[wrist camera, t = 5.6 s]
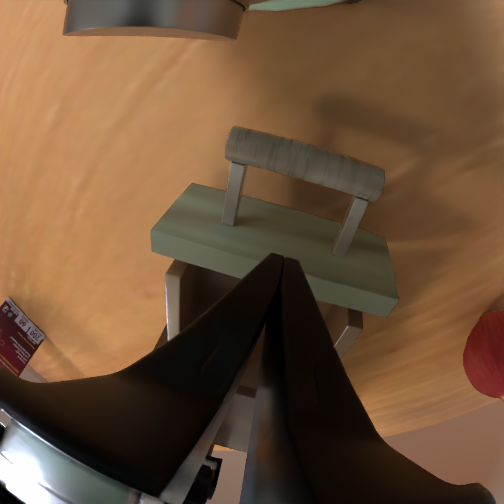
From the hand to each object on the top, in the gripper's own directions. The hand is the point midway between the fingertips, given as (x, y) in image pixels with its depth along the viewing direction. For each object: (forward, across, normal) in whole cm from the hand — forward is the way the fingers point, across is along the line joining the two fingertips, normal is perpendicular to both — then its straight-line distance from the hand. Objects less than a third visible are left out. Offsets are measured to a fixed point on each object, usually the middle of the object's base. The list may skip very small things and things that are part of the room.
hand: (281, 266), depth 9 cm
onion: (+8, -17, +6) cm, 19 cm away
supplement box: (+8, +33, +30) cm, 46 cm away
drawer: (+7, 0, +6) cm, 9 cm away
